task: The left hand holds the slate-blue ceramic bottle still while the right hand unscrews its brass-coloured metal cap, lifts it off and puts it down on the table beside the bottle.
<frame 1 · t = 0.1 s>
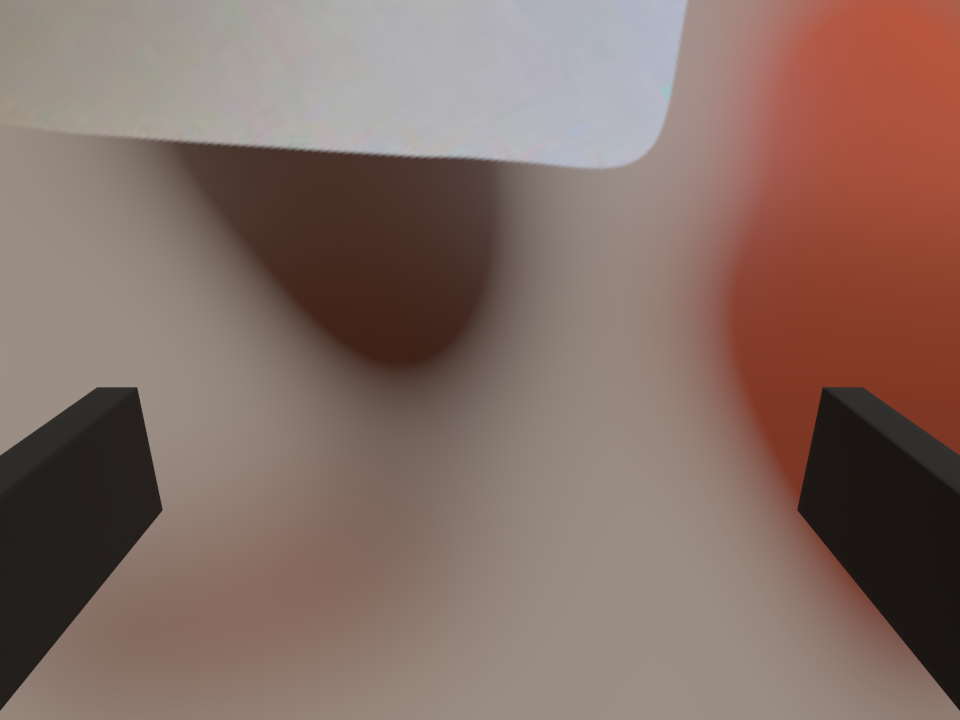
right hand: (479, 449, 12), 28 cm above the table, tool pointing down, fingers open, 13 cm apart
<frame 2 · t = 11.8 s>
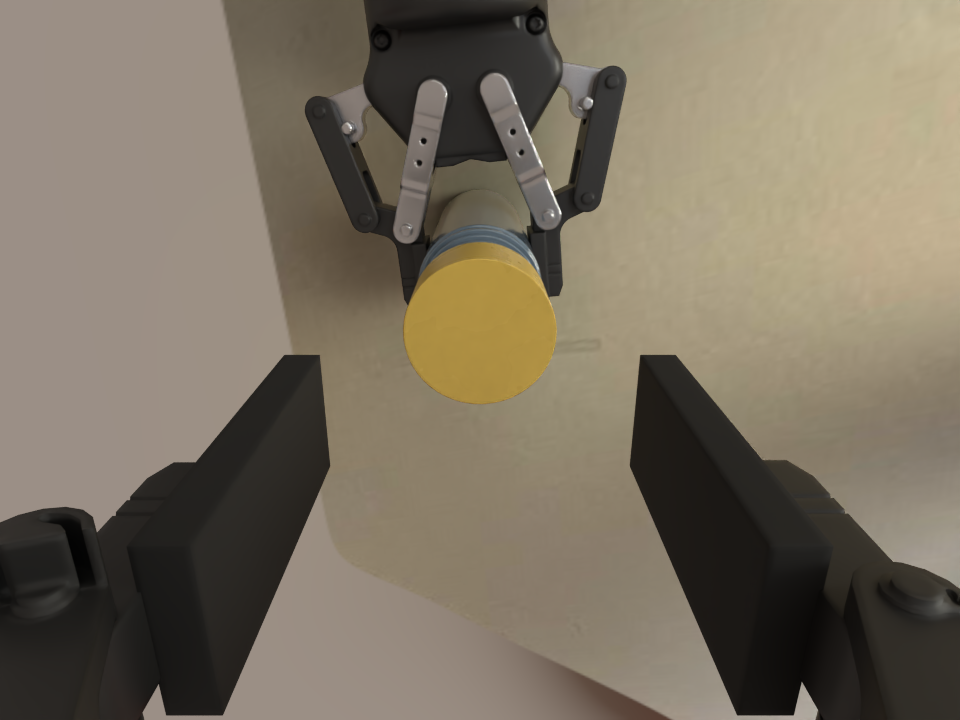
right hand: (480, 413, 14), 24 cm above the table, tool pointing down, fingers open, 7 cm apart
left hand: (485, 308, 31), fingers closed on bottle, 4 cm apart
bottle: (479, 232, 36), on the table, touching left hand
cap: (479, 331, 19), point 18 cm above the table, screwed on, not yet turned
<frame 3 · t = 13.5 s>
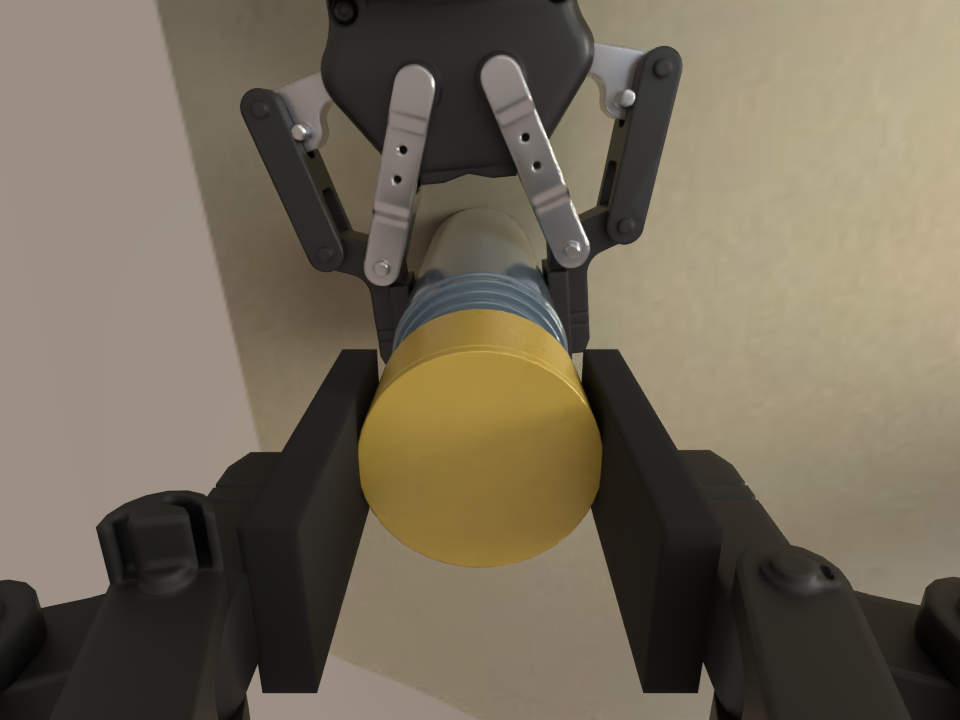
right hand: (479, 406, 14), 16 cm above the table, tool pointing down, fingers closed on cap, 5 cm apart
left hand: (487, 366, 24), fingers closed on bottle, 4 cm apart
bottle: (480, 260, 29), on the table, touching left hand
cap: (480, 458, 12), point 18 cm above the table, screwed on, not yet turned, touching right hand
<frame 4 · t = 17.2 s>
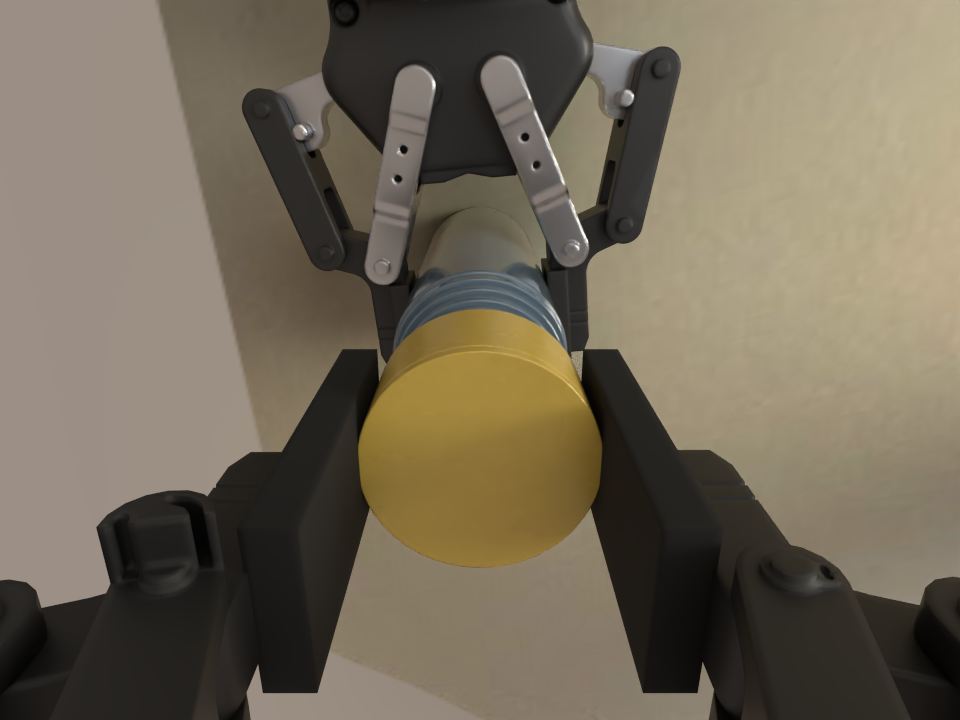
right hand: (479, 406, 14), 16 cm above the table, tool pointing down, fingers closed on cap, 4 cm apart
left hand: (487, 365, 24), fingers closed on bottle, 4 cm apart
bottle: (480, 259, 29), on the table, touching left hand
cap: (480, 459, 12), point 18 cm above the table, turned 137° so far, risen 0.2 cm, still on its thread, touching right hand
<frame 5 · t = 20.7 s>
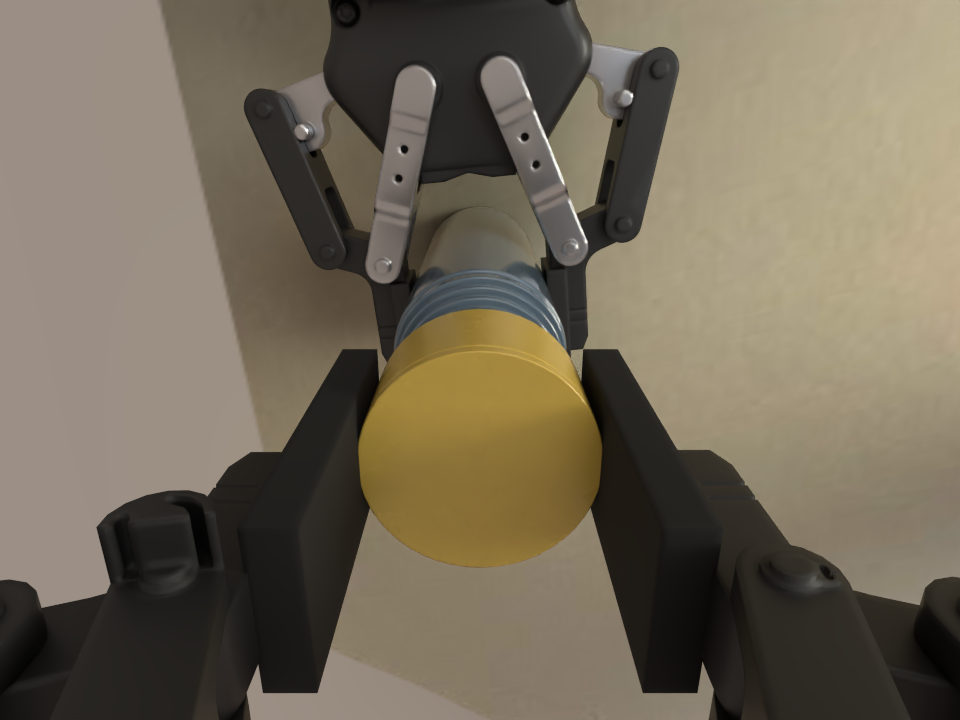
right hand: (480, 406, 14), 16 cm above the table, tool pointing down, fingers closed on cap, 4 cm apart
left hand: (487, 363, 24), fingers closed on bottle, 4 cm apart
bottle: (480, 259, 29), on the table, touching left hand
cap: (480, 459, 12), point 18 cm above the table, turned 275° so far, risen 0.3 cm, still on its thread, touching right hand
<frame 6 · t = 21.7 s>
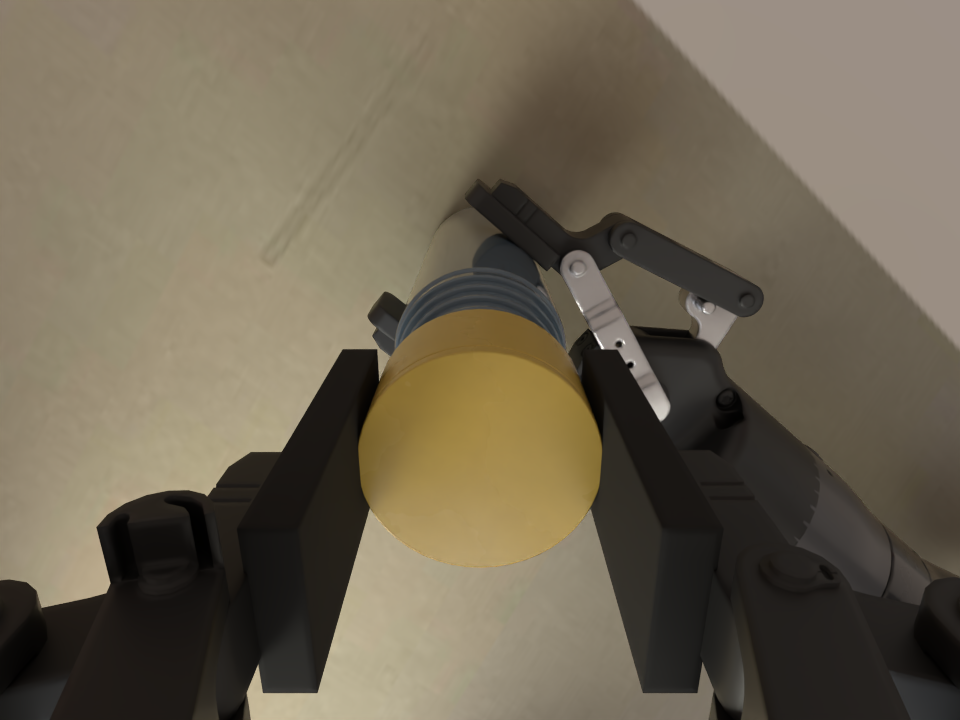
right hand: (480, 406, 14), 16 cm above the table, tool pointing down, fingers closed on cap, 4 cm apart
left hand: (423, 249, 23), fingers closed on bottle, 4 cm apart
bottle: (480, 258, 30), on the table, touching left hand
cap: (480, 459, 12), point 19 cm above the table, off its thread, touching right hand
when the right hand's fingers open (1 cm above the table, at t = 27.9 s): cap drops 1 cm, point 2 cm above the table.
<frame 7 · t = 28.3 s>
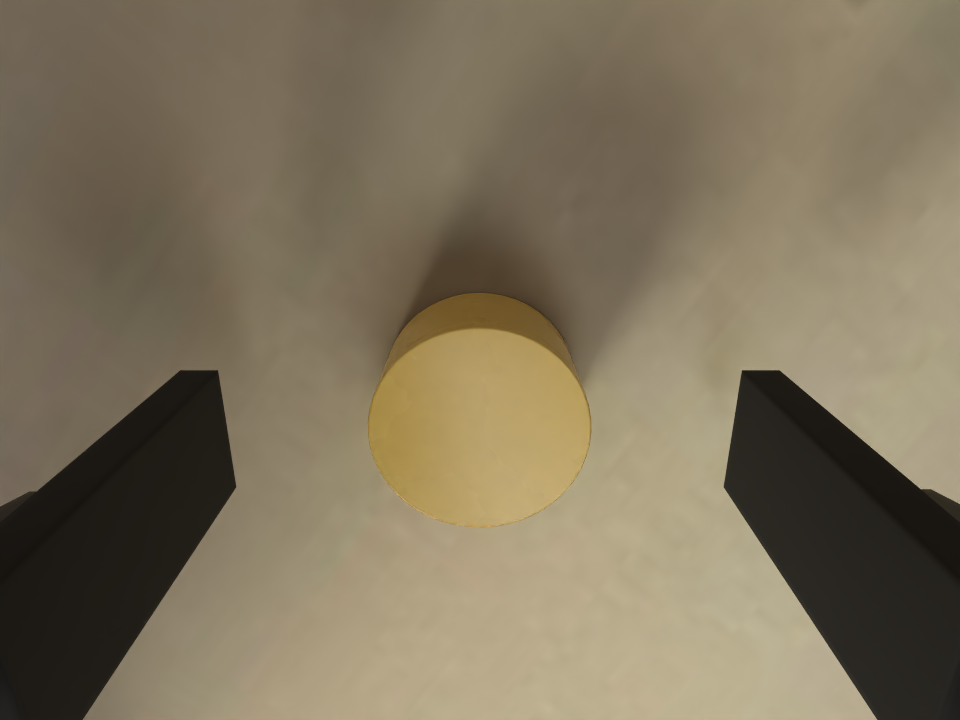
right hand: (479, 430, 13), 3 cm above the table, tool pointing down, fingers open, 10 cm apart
cap: (479, 427, 13), point 2 cm above the table, off its thread
when the left hand's fingers open (7 cm above the table, at t = 29.2 s): bottle stays where it is, on the table.
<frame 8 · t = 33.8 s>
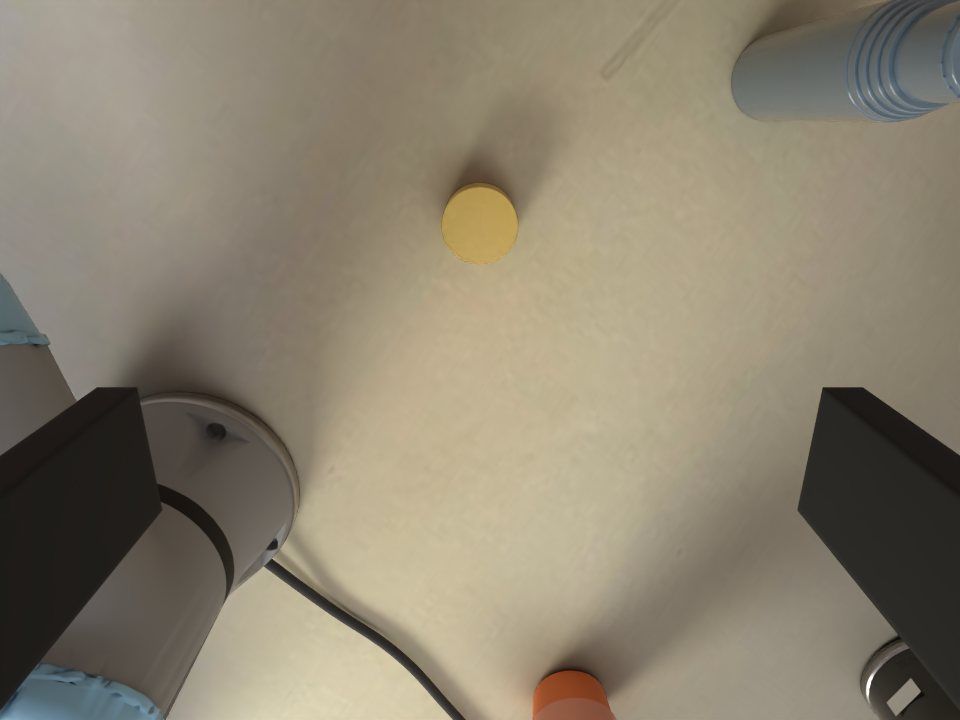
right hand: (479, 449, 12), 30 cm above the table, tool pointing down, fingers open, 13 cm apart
bottle: (771, 78, 38), on the table
cup with straw: (568, 694, 55), on the table
cap: (479, 225, 39), point 2 cm above the table, off its thread
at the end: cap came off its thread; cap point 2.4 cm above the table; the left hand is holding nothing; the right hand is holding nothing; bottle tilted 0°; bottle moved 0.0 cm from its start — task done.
